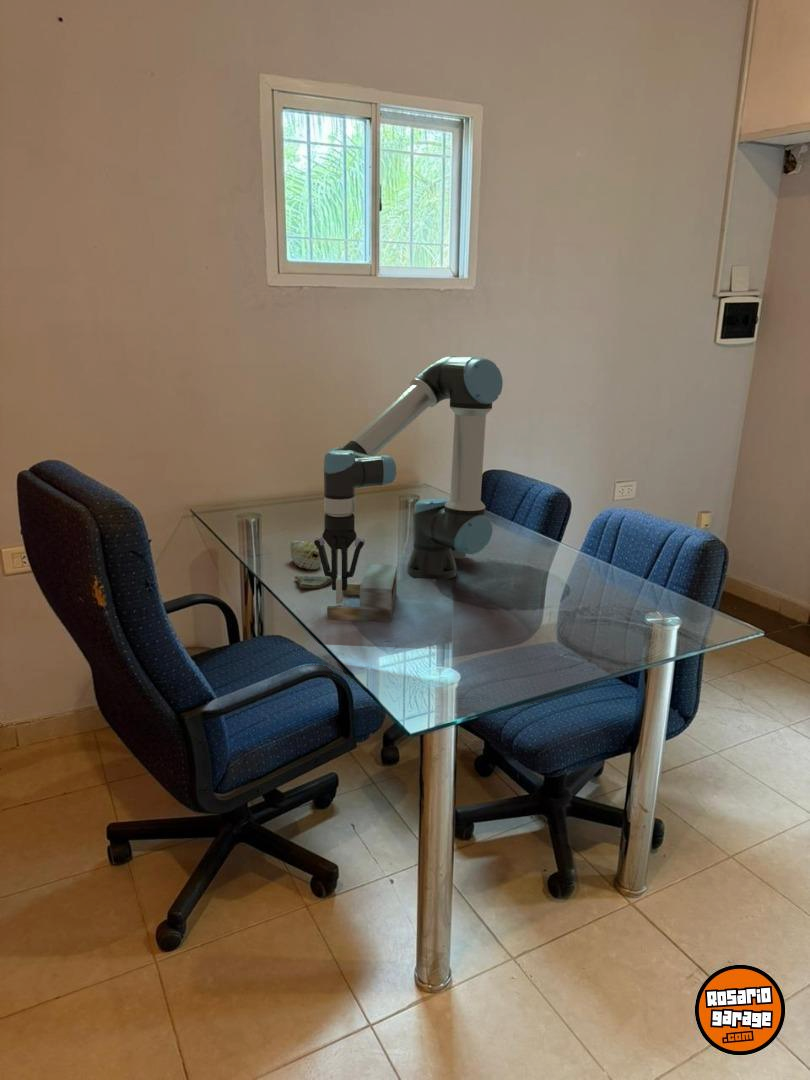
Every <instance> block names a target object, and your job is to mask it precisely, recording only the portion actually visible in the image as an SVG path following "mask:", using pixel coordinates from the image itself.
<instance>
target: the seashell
mask: <svg viewBox="0 0 810 1080" xmlns="http://www.w3.org/2000/svg"><path fill="white" fill-rule="evenodd" d="M290 557H291V559H292V561H293V563H294V564H295V565H296V566H297V567H299V568H301V569H307V570H318V569H320V568H321V565H322V563H321V559H320V555H319V551H318V548H317V547H316V545H315V544H314V541H313V542H312V541H302V540H292V541H291V543H290Z"/></svg>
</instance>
